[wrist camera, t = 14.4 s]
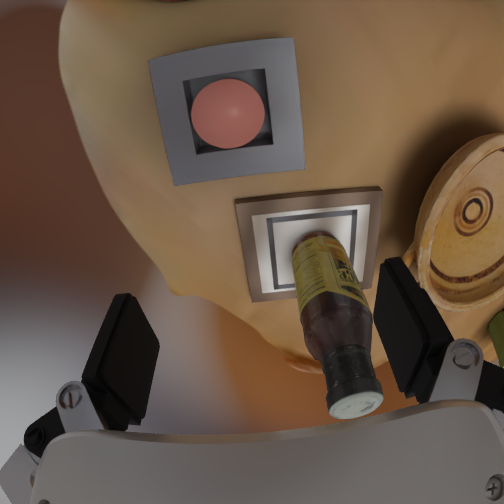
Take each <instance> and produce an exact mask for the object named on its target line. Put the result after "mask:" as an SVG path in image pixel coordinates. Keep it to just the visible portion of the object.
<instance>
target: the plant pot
mask: <svg viewBox="0 0 504 504" xmlns="http://www.w3.org/2000/svg"><path fill="white" fill-rule="evenodd" d="M488 331H489V334H490V336H491V339H492V342H493V345H494V347H495V350H496V353H497V356H498V359H499V365H500V367H501V368H504V311H501V312H499V313H498V314H497V315H496V316H495V317H494V318H493V319H492V320H491V322H490V324H489V328H488Z"/></svg>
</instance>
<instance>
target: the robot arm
mask: <svg viewBox="0 0 504 504" xmlns="http://www.w3.org/2000/svg"><path fill="white" fill-rule="evenodd" d="M373 319H374V323H375V326H376V328H377V331H378V333H379V336H380V338H381V341H382V344H383V346H384V349H385V352H386V354H387V357H388V360H389V363H390V365H391V368H392V371H393V374H394V377H395V380H396V382H397V385H398V388H399V391H401V392H404V393H405V396H406V399H407V398H410V397H413V396H416V399H417V401H418V402H419V403H418V405H414V406H410V407H406V408H402V409H398V410H395V411H391V412H386V413H382V414H378V415H374V416H369V417H364V418H360V419H355V420H350V421H345V422H340V423H334V424H329V425H323V426H316V427H310V428H303V429H294V430H287V431H277V432H266V433H252V434H235V435H168V434H151V433H136V432H129V431H128V430H127V429H128V424H130V425H140V423H141V419H143V418H144V417H145V414H146V409H147V404H148V399H149V394H150V389H151V384H152V380H153V375H154V370H155V366H156V361H157V357H158V352H159V348H160V345H159V341H158V339H157V337H156V335H155V333H154V331H153V329H152V328H151V326H150V324H149V322H148V320H147V318H146V316H145V315H144V313H143V311H142V309H141V307H140V305H139V303H138V301H137V299H136V297H134V296H132V295H131V294H130V293H124V294H117V295H115V296H114V298H113V301H112V303H111V305H110V308H109V310H108V312H107V314H106V316H105V319H104V321H103V323H102V326H101V328H100V331H99V333H98V336H97V338H96V340H95V343H94V345H93V348H92V351H91V353H90V355H89V358H88V361H87V363H86V366H85V369H84V371H83V374H82V381H81V382H79V381H70V382H68V383H66V384H65V385H64V386H62V387H61V389H60V390H59V391H58V393H57V396H56V405H57V406H56V407H55V408H53V409H52V410H50V411H49V412H48V413H46V414H45V415H44V416H42V417H41V418H39V419H38V420H36V421H35V422H34V423H32V424H31V425H30V426H29V427H28V428H27V430H26V432H25V434H24V446H23V445H22V444H20V445H19V447H18V448H17V449H16V450H15V452H14V453H13V454H12V456H11V457H10V458H9V460H8V461H7V462H6V463H5V464H4V466H3V467H2V468H1V470H0V485H1V487H2V489H3V490H4V492H5V494H6V495H7V497H8V498H9V500H10V501H11V503H12V504H504V368H501V367H499V366H497V365H494V364H492V363H489V362H487V361H485V360H483V353H482V350H481V348H480V347H479V346H478V345H477V344H476V343H475V342H473V341H471V340H469V339H464V338H463V339H457V340H454V338H453V336H452V335H451V333H450V331H449V329H448V327H447V326H446V324H445V322H444V320H443V319H442V317H441V315H440V313H439V312H438V310H437V308H436V307H435V305H434V303H433V302H432V300H431V298H430V297H429V295H428V293H427V292H426V290H425V289H424V288H420V286H419V285H418V283H417V282H416V280H415V278H414V277H413V275H412V274H411V272H410V271H409V269H408V267H407V266H406V264H405V263H404V261H403V260H402V258H401V257H395V258H389V259H385V261H384V263H382V264H381V265H380V272H379V280H378V287H377V294H376V300H375V307H374V313H373Z"/></svg>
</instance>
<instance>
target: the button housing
mask: <svg viewBox="0 0 504 504" xmlns="http://www.w3.org/2000/svg"><path fill="white" fill-rule="evenodd" d="M148 63H149V68H150V74H151V79H152V85H153V90H154V95H155V100H156V105H157V110H158V115H159V120H160V125H161V130H162V134H163V139H164V143H165V148H166V152H167V157H168V161H169V165H170V170H171V174H172V178H173V182H174V186H177V185H183V184H190V183H196V182H203V181H210V180H217V179H224V178H231V177H239V176H247V175H256V174H265V173H274V172H284V171H294V170H305V156H304V142H303V128H302V116H301V105H300V94H299V84H298V74H297V65H296V57H295V48H294V40H293V37H288V38H272V39H260V40H251V41H242V42H234V43H227V44H221V45H215V46H209V47H203V48H198V49H193V50H188V51H183V52H179V53H175V54H170V55H166V56H162V57H158V58H155V59H151V60H148ZM227 78H234V79H239V80H243V81H245V82H247V83H248V84H250V85H251V86H253V87H254V88H255V89H256V91H257V92H258V93H259V95H260V97H261V100H262V102H263V105H264V112H265V115H264V122H263V125H262V128H261V129H260V131H259V133H258V134H257V135H256V136H255V137H254V138H253V139H252V140H251V141H250V142H248V143H247V144H245V145H242V146H240V147H236V148H219V147H216V146H213V145H211V144H209V143H207V142H206V141H204V140H203V139H202V138H201V137H200V136H199V135H198V133H197V132H196V130H195V129H194V126H193V123H192V118H191V110H192V105H193V102H194V100H195V98H196V96H197V95H198V93H199V92H200V91H201V90H202V89H203V88H204V87H206V86H207V85H209V84H211V83H213V82H215V81H218V80H221V79H227Z"/></svg>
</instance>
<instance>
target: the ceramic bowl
mask: <svg viewBox="0 0 504 504" xmlns="http://www.w3.org/2000/svg"><path fill="white" fill-rule="evenodd" d="M402 260H403V261H404V263H405V264H406V266H407V267H409V266H410V264H411V263H412V262H413V261H414V260H415V262H416V266H417V271H418V278H419V282H418V285H419V286H420V288H424V289H425V290H426V292H427V293H428V295H429V297H430V298H431V300H432V302H433V303H434V305H435V306H436V307H438V308H440V309H442V310H446V311H450V312H463V311H469V310H473V309H476V308H479V307H482V306H484V305H486V304H488V303H490V302H492V301H494V300H495V299H497V298H498V297H500V296H501V295H503V294H504V133H492V134H488V135H483V136H480V137H478V138H476V139H474V140H471V141H469V142H468V143H466V144H465V145H464V146H462V147H461V148H460V149H458V150H457V151H456V152H455V153H454V154H453V155H452V156H451V157H450V158H449V159H448V160H447V161H446V162H445V163H444V164H443V166H442V167H441V169H440V170H439V171H438V173H437V174H436V175H435V177H434V179H433V181H432V182H431V184H430V186H429V188H428V190H427V191H426V194H425V197H424V199H423V202H422V204H421V207H420V210H419V214H418V218H417V222H416V227H415V236H414V241H413V243H412V244H411V245H410V247H409V248H408V249H407V251H406V252H405V254H404V255H403V257H402Z"/></svg>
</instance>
